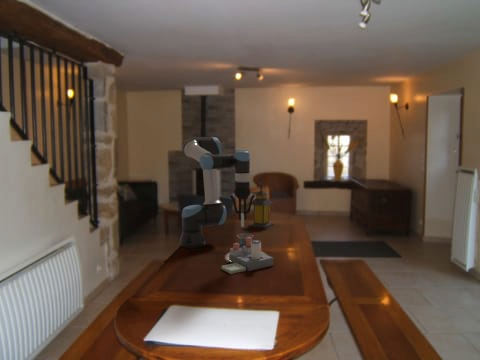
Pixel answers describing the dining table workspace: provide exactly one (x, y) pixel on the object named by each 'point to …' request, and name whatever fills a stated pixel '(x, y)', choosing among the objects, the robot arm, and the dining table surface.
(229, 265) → the tray
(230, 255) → the housing
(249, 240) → the plunger
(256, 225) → the lantern
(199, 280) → the dining table surface
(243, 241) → the mug
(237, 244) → the plunger
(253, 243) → the cylinder
